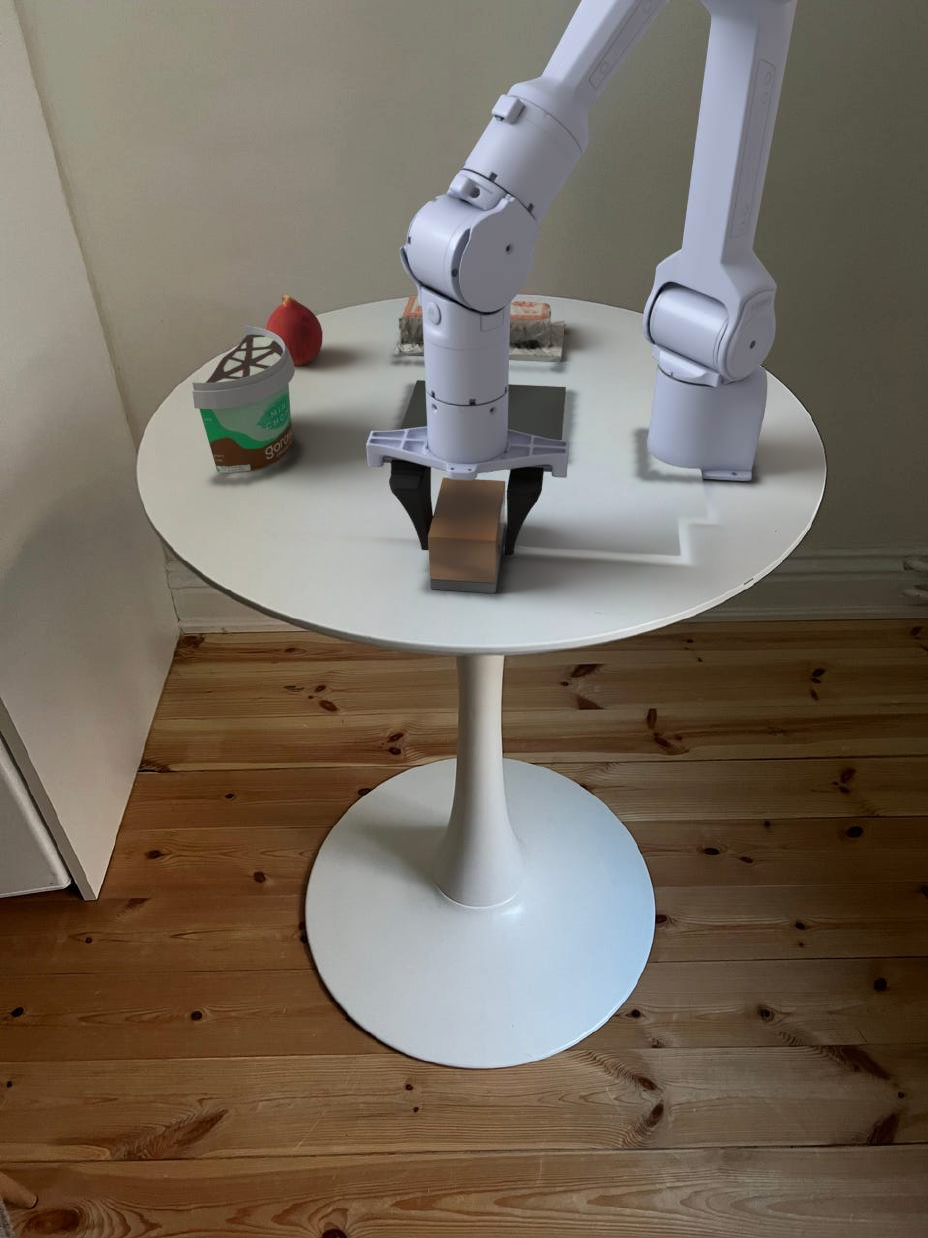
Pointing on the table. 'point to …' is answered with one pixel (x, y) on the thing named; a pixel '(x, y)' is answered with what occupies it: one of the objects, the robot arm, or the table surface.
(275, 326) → the onion
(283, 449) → the food container
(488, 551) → the eraser
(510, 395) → the slate board
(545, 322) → the packaged product
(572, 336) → the table surface
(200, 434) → the table surface
